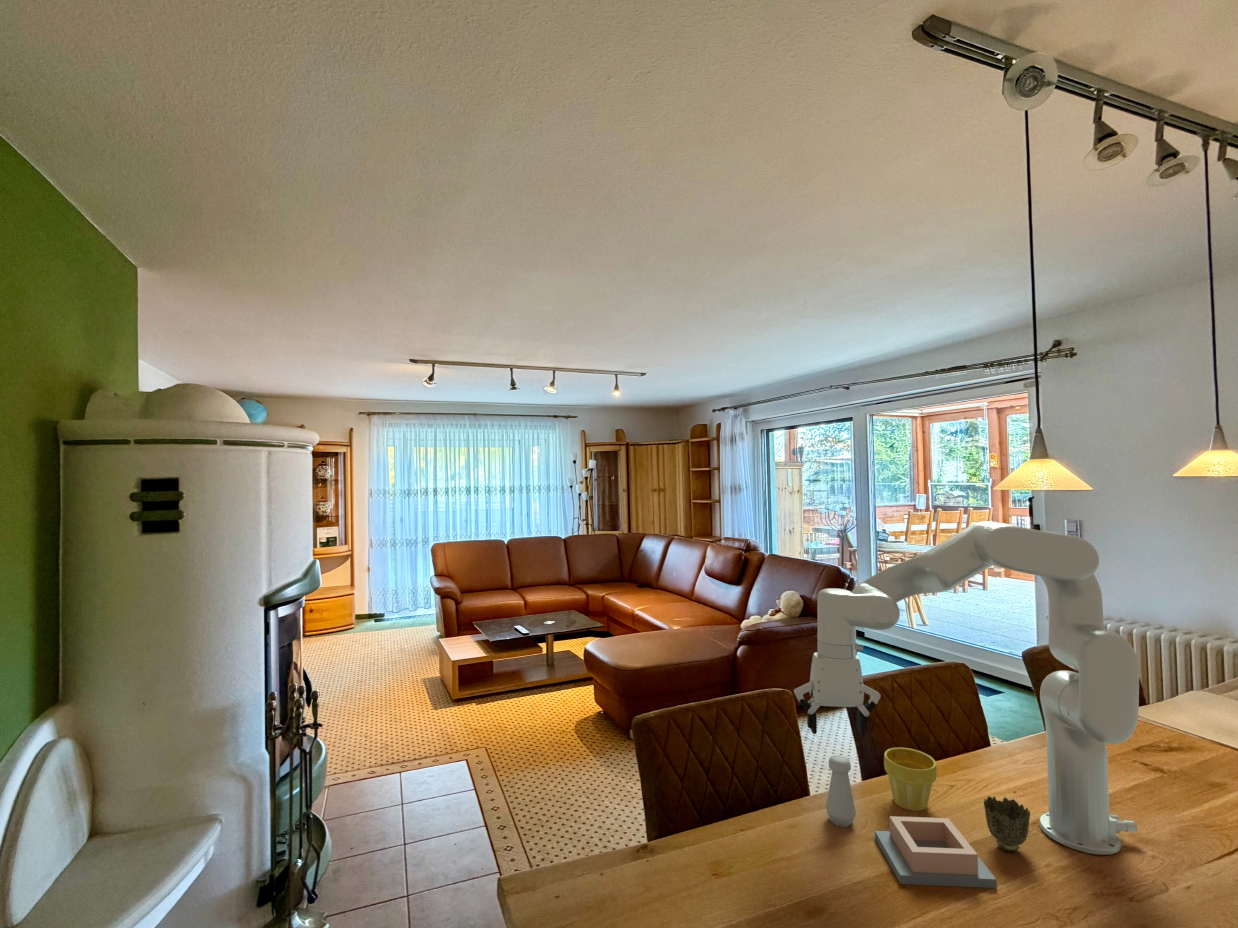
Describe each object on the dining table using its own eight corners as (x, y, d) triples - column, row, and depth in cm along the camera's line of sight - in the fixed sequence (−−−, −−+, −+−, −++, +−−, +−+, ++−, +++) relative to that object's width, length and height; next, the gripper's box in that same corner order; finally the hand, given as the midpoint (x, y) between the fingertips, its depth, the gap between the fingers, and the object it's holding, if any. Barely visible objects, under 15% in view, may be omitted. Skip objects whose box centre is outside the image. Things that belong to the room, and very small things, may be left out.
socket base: (960, 841, 115) (959, 815, 115) (996, 887, 102) (995, 858, 102) (875, 838, 116) (874, 812, 116) (900, 883, 103) (899, 854, 104)
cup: (1024, 840, 115) (1023, 798, 115) (1037, 864, 108) (1035, 819, 108) (980, 833, 117) (979, 792, 118) (990, 856, 110) (989, 812, 111)
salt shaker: (858, 830, 119) (856, 765, 119) (828, 827, 120) (827, 763, 120) (853, 814, 125) (851, 752, 125) (824, 811, 126) (823, 750, 126)
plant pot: (949, 810, 126) (947, 764, 126) (911, 820, 122) (910, 773, 122) (909, 786, 135) (908, 743, 136) (874, 795, 132) (873, 751, 132)
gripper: (873, 645, 126) (873, 726, 126) (790, 643, 128) (790, 722, 127) (886, 656, 119) (886, 741, 118) (797, 653, 120) (798, 738, 120)
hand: (836, 731), depth 123 cm, fingers open, 9 cm apart
